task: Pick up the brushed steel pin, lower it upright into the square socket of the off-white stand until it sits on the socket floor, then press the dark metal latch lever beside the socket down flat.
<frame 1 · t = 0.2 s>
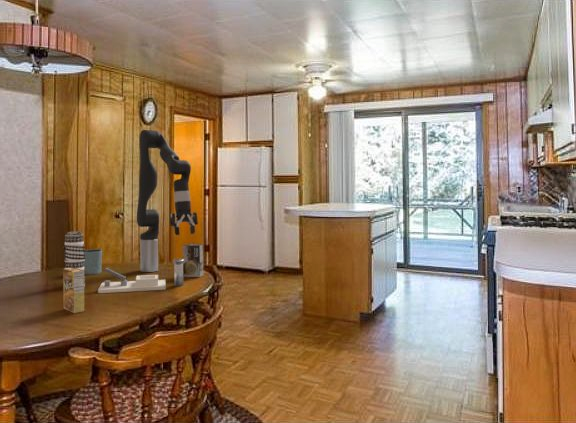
hand: (185, 234, 221), 23 cm above the table, tool pointing down, fingers open, 8 cm apart
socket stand: (133, 287, 208), on the table
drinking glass: (92, 273, 242), on the table
candy box: (74, 310, 170), on the table
latch lever: (115, 274, 205), point 7 cm above the table, hinge at 30.0°
coffee box: (193, 276, 235), on the table
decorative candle: (75, 286, 211), on the table
steel pin: (178, 285, 213), on the table
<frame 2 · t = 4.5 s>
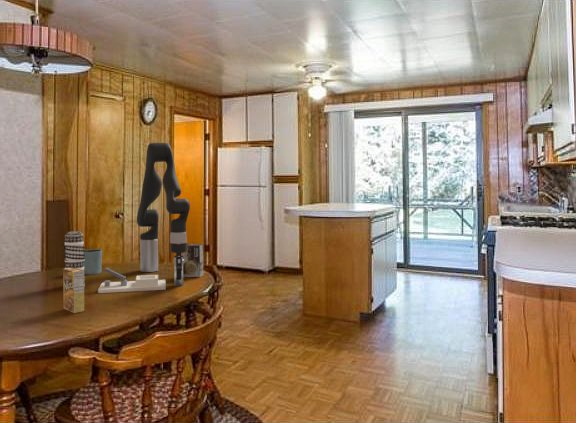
hand: (178, 278, 213), 3 cm above the table, tool pointing down, fingers closed on steel pin, 4 cm apart
steel pin: (178, 285, 213), on the table, touching gripper
everything else where it was.
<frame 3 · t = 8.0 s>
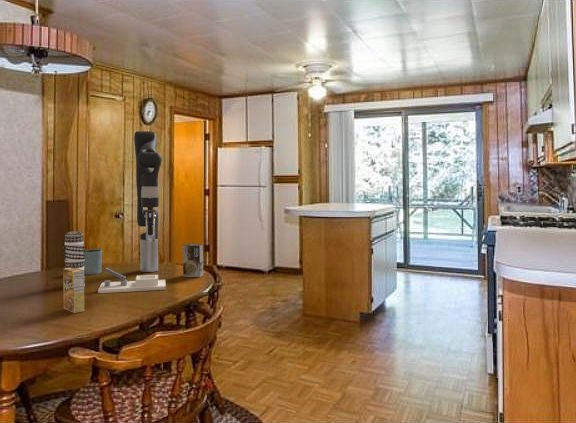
hand: (150, 234, 209), 24 cm above the table, tool pointing down, fingers closed on steel pin, 4 cm apart
steel pin: (150, 241, 209), point 21 cm above the table, touching gripper
everything else where it was.
when the fingers open (6 cm above the table, at t = 11.3 s): steel pin drops 1 cm, resting on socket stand.
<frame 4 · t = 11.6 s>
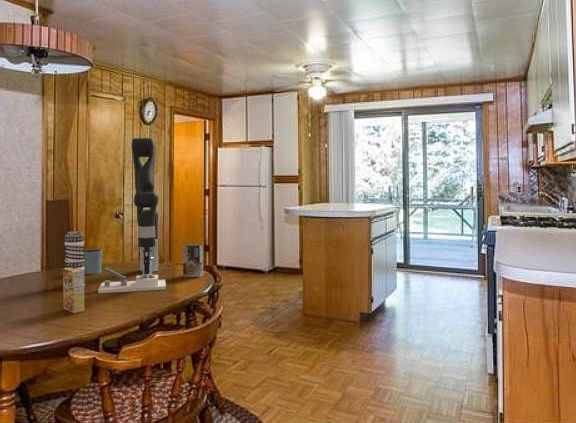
hand: (147, 272, 209), 7 cm above the table, tool pointing down, fingers open, 6 cm apart
steel pin: (147, 283, 209), point 2 cm above the table, touching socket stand
everything else where it was.
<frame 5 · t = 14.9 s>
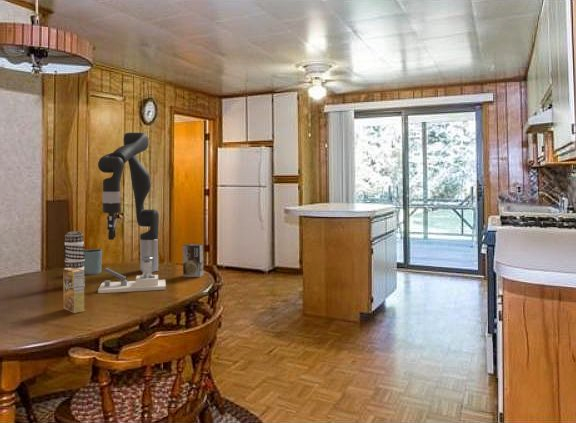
hand: (112, 238, 204), 23 cm above the table, tool pointing down, fingers open, 8 cm apart
nothing on the table moved.
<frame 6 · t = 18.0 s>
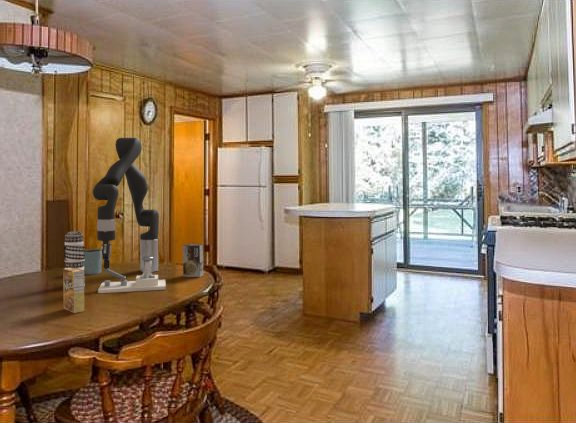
hand: (106, 268, 204), 9 cm above the table, tool pointing down, fingers closed
latch lever: (115, 274, 205), point 7 cm above the table, hinge at 29.1°, touching gripper
everything else where it was.
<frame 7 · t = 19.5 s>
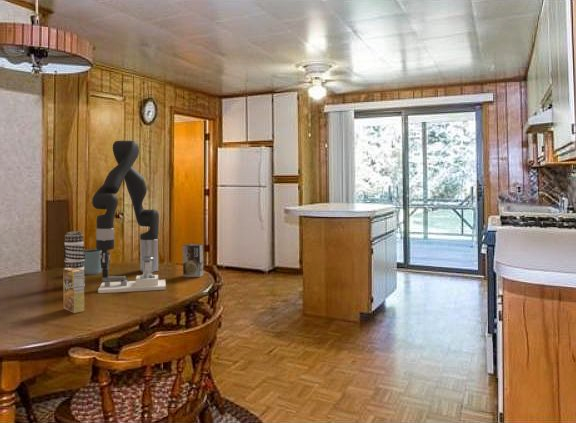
hand: (105, 277, 204), 5 cm above the table, tool pointing down, fingers closed
latch lever: (114, 278, 205), point 5 cm above the table, hinge at 2.5°, touching gripper
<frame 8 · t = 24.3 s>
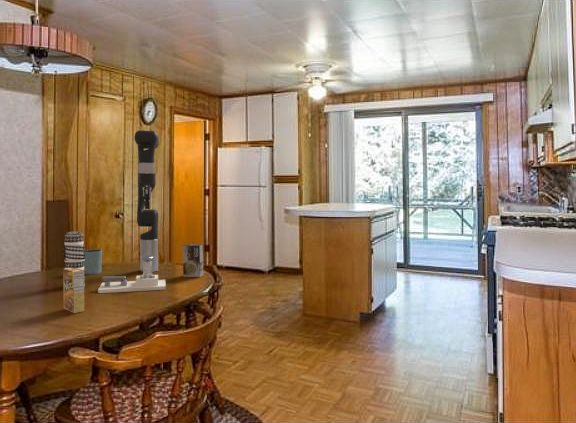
hand: (147, 208, 220), 35 cm above the table, tool pointing down, fingers closed
latch lever: (114, 278, 205), point 5 cm above the table, hinge at 2.3°
at the end: steel pin 0.1 cm from the target spot on the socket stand, point 1.6 cm above the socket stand's base; steel pin tilted 3°; latch lever at +2° (first picture: +30°) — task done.
